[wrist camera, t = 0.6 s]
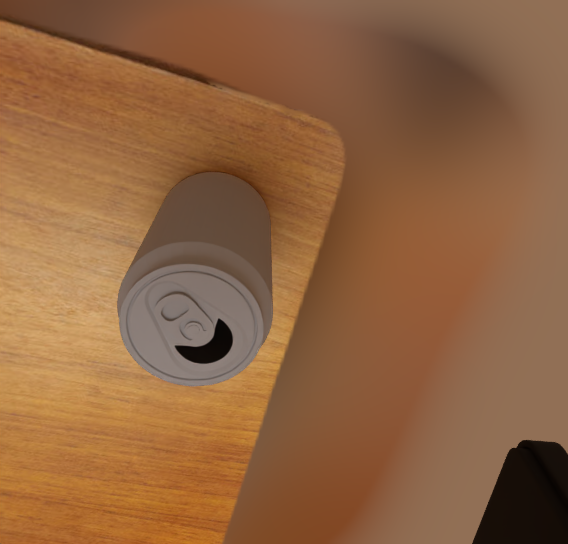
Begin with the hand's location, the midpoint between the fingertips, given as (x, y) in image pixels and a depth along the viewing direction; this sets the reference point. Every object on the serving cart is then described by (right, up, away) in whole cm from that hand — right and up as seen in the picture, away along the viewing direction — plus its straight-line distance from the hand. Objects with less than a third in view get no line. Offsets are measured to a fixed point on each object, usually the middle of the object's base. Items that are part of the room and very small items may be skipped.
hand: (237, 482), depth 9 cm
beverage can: (-3, +7, +23) cm, 24 cm away
